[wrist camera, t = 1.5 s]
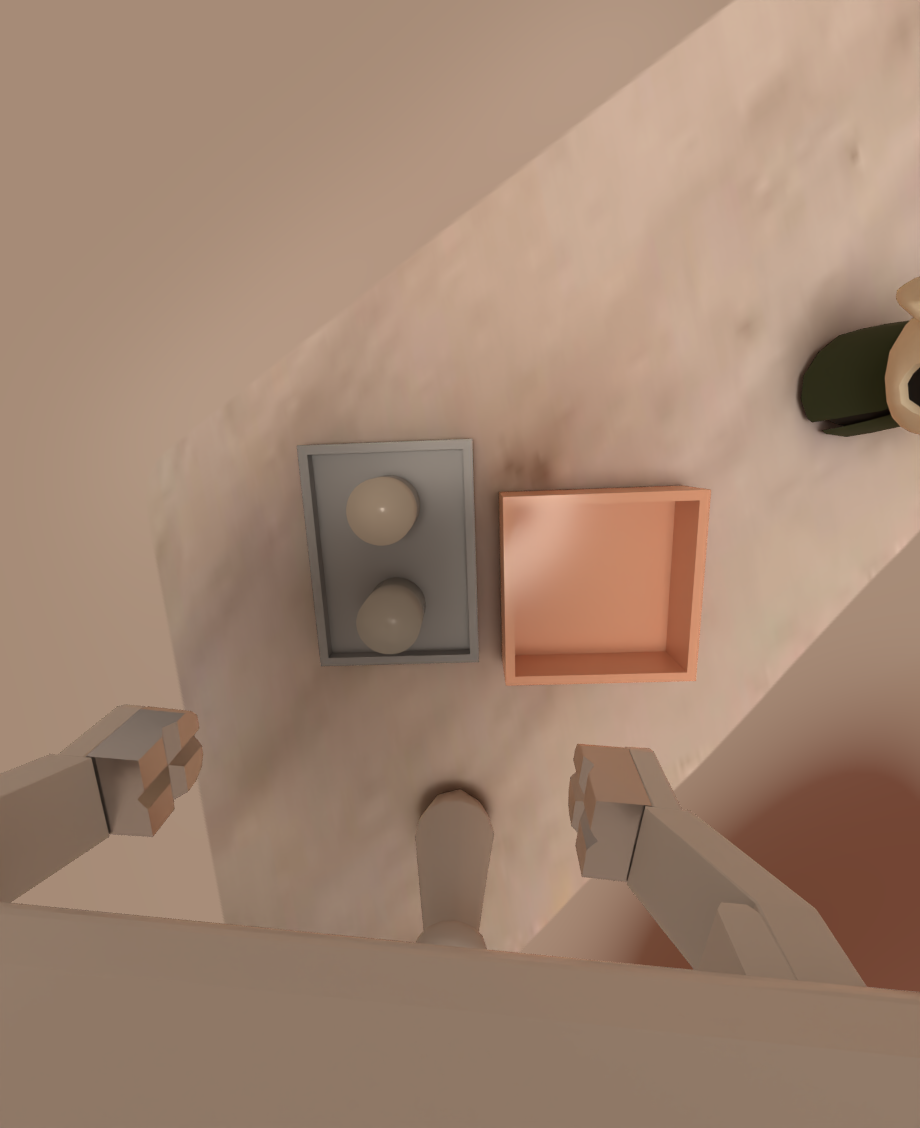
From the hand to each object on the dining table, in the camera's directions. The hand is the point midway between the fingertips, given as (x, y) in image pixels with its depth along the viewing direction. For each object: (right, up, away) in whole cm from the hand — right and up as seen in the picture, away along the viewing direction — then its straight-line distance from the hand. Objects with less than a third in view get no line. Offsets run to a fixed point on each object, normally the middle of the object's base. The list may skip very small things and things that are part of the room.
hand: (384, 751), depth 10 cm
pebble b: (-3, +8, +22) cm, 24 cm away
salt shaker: (+1, -16, +28) cm, 32 cm away
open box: (+11, +3, +23) cm, 26 cm away
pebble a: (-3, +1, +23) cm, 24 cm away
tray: (-3, +5, +23) cm, 24 cm away
